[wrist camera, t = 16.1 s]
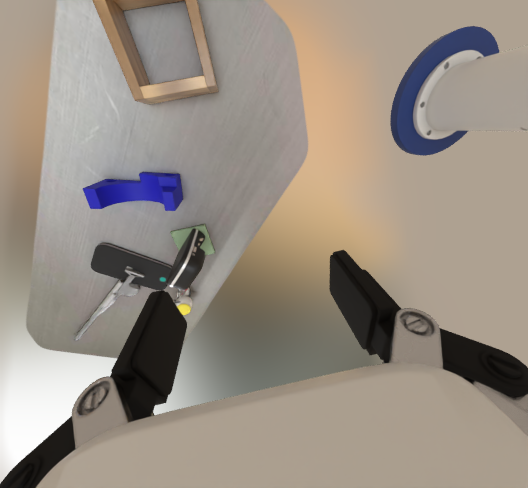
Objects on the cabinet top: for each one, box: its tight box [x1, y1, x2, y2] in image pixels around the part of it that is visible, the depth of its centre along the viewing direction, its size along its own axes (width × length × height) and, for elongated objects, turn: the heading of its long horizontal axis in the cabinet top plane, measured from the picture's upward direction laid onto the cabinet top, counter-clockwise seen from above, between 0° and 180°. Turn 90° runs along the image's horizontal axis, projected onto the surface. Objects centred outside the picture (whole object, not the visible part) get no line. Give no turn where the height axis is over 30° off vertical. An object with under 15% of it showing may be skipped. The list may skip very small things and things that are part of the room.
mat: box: [170, 224, 215, 255], centre depth 41 cm, size 7×7×1 cm
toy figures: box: [174, 288, 192, 315], centre depth 45 cm, size 12×4×8 cm, turn 149°
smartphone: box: [91, 243, 172, 290], centre depth 41 cm, size 8×1×15 cm
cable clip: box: [83, 172, 183, 211], centre depth 31 cm, size 12×4×6 cm, turn 85°
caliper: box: [74, 266, 144, 341], centre depth 46 cm, size 29×2×5 cm
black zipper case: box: [166, 228, 205, 290], centre depth 36 cm, size 7×4×11 cm, turn 143°
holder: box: [93, 0, 218, 104], centre depth 24 cm, size 10×10×5 cm
